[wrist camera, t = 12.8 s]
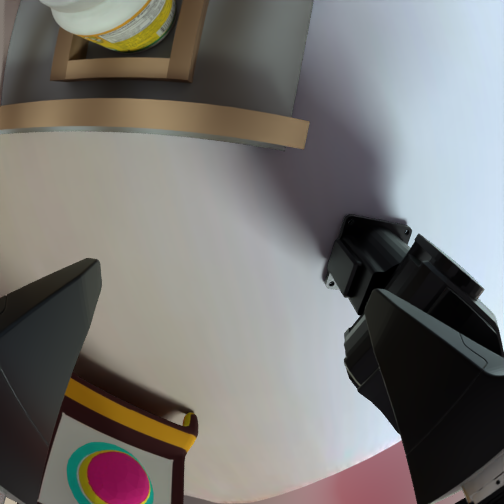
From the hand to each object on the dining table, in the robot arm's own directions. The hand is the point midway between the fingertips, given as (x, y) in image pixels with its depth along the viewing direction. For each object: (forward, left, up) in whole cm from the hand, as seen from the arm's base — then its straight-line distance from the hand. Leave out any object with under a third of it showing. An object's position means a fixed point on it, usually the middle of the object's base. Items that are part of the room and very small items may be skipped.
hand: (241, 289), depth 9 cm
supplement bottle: (+8, -11, -12) cm, 18 cm away
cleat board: (+8, -10, -13) cm, 18 cm away
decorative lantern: (+12, +30, -13) cm, 35 cm away
